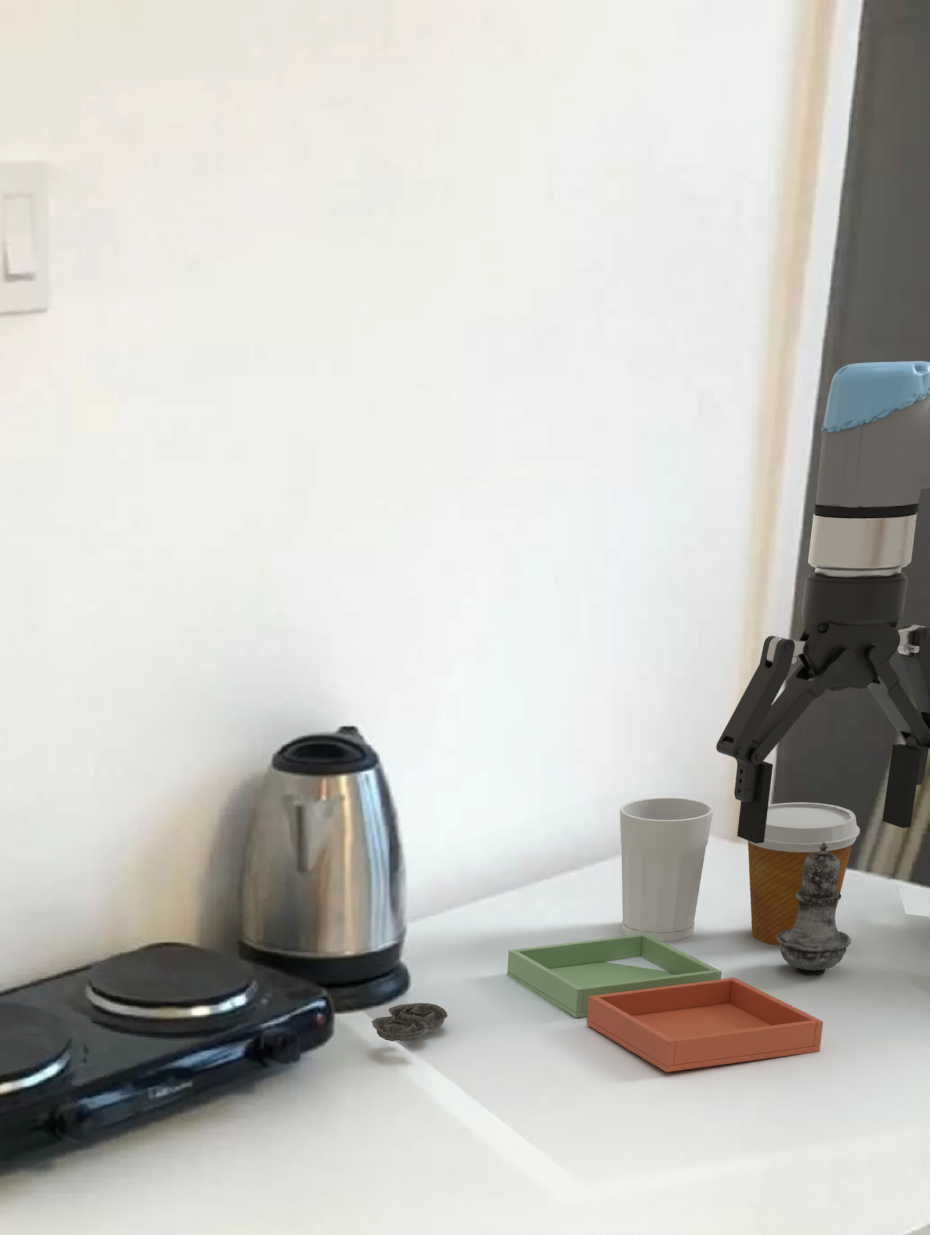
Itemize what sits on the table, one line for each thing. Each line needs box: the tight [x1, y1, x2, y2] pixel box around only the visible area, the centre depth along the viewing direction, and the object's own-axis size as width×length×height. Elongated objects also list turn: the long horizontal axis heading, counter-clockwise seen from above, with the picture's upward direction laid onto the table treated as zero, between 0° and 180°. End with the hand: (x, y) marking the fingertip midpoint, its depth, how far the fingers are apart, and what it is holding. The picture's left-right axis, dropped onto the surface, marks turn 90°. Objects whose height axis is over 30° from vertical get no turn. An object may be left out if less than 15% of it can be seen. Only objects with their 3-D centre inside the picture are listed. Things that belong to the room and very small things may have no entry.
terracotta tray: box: [586, 977, 824, 1073], centre depth 163 cm, size 13×12×2 cm
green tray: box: [506, 934, 722, 1019], centre depth 176 cm, size 13×12×2 cm
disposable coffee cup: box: [746, 801, 861, 946], centre depth 182 cm, size 10×10×12 cm
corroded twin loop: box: [371, 1002, 448, 1043], centre depth 169 cm, size 5×8×1 cm, turn 140°
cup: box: [619, 797, 714, 942], centre depth 187 cm, size 8×8×12 cm
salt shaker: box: [777, 843, 852, 977], centre depth 173 cm, size 6×6×12 cm
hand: (823, 832), depth 171 cm, fingers open, 13 cm apart
